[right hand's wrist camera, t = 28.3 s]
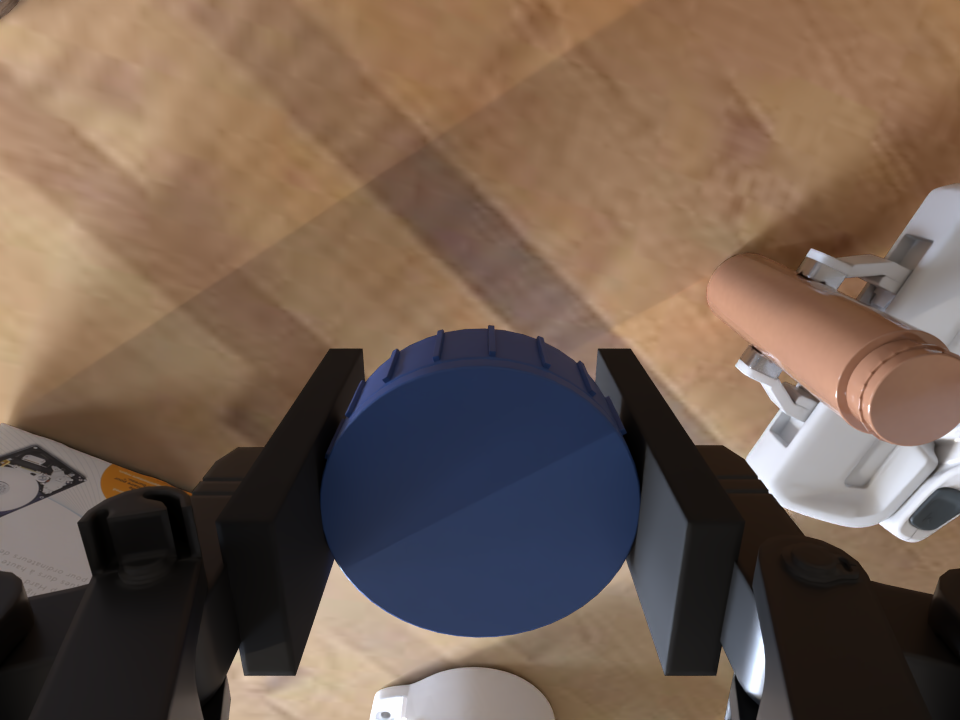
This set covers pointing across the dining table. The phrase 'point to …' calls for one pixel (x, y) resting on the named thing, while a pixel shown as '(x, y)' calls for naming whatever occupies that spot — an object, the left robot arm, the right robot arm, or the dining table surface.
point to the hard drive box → (51, 507)
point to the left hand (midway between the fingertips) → (775, 312)
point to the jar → (842, 350)
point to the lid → (480, 485)
